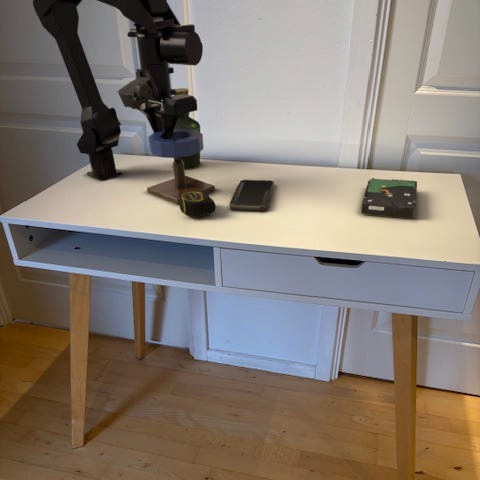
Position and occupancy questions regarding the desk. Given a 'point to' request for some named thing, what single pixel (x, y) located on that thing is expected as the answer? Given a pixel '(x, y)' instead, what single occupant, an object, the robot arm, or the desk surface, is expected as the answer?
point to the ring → (176, 143)
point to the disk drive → (390, 198)
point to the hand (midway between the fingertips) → (163, 141)
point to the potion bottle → (187, 123)
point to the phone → (252, 195)
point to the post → (179, 185)
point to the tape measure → (196, 204)
